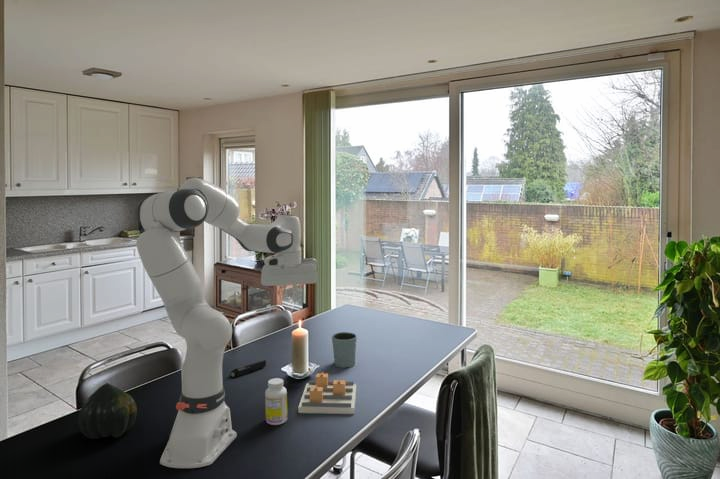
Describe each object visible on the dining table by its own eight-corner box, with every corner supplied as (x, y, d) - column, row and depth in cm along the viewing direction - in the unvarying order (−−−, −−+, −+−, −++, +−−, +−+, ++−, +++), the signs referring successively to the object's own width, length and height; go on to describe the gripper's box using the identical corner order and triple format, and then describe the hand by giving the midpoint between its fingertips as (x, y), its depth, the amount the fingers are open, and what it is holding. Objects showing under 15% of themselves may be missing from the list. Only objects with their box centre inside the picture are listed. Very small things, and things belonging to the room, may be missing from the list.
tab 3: (344, 396, 153) (344, 382, 152) (333, 396, 153) (333, 382, 152) (345, 392, 156) (345, 378, 155) (333, 392, 156) (333, 378, 155)
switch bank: (354, 414, 145) (354, 404, 145) (298, 412, 146) (298, 403, 146) (356, 389, 163) (356, 380, 163) (306, 388, 164) (306, 380, 164)
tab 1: (327, 389, 158) (327, 375, 158) (315, 389, 159) (315, 375, 158) (328, 385, 161) (328, 372, 161) (317, 385, 162) (316, 371, 161)
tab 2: (322, 404, 148) (321, 389, 147) (309, 404, 148) (309, 389, 147) (323, 400, 151) (322, 385, 150) (311, 399, 151) (311, 385, 150)
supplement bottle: (277, 413, 146) (277, 374, 145) (291, 419, 142) (291, 380, 140) (261, 421, 141) (260, 381, 139) (275, 428, 137) (274, 387, 135)
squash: (106, 435, 122) (127, 380, 131) (58, 432, 125) (82, 378, 134) (135, 446, 134) (152, 395, 142) (90, 443, 136) (110, 393, 145)
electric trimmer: (268, 368, 183) (268, 361, 183) (234, 379, 172) (234, 371, 172) (262, 366, 186) (262, 358, 186) (229, 376, 175) (228, 368, 174)
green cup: (360, 366, 185) (360, 338, 183) (336, 370, 181) (336, 341, 180) (351, 358, 194) (351, 330, 193) (328, 361, 190) (328, 333, 189)
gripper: (316, 256, 169) (316, 292, 171) (260, 258, 164) (261, 296, 166) (319, 259, 163) (319, 296, 165) (261, 261, 158) (262, 300, 160)
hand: (289, 296), depth 165 cm, fingers closed
